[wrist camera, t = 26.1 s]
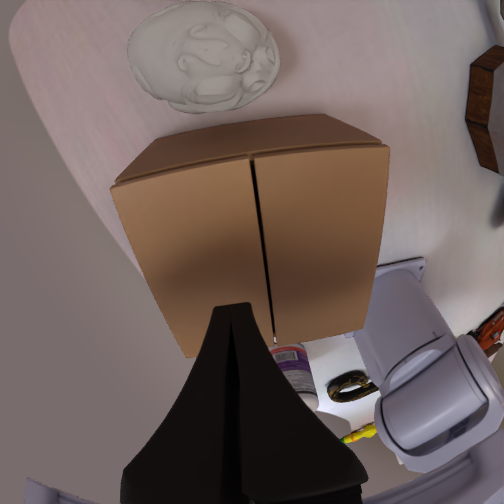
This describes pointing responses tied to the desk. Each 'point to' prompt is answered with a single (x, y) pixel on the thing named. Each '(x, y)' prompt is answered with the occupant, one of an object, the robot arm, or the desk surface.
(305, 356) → the pill bottle
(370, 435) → the toy figure
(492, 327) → the toy car
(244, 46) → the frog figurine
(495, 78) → the mug
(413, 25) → the desk surface
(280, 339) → the cardboard box
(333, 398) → the toy snake
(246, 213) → the cardboard box flap
